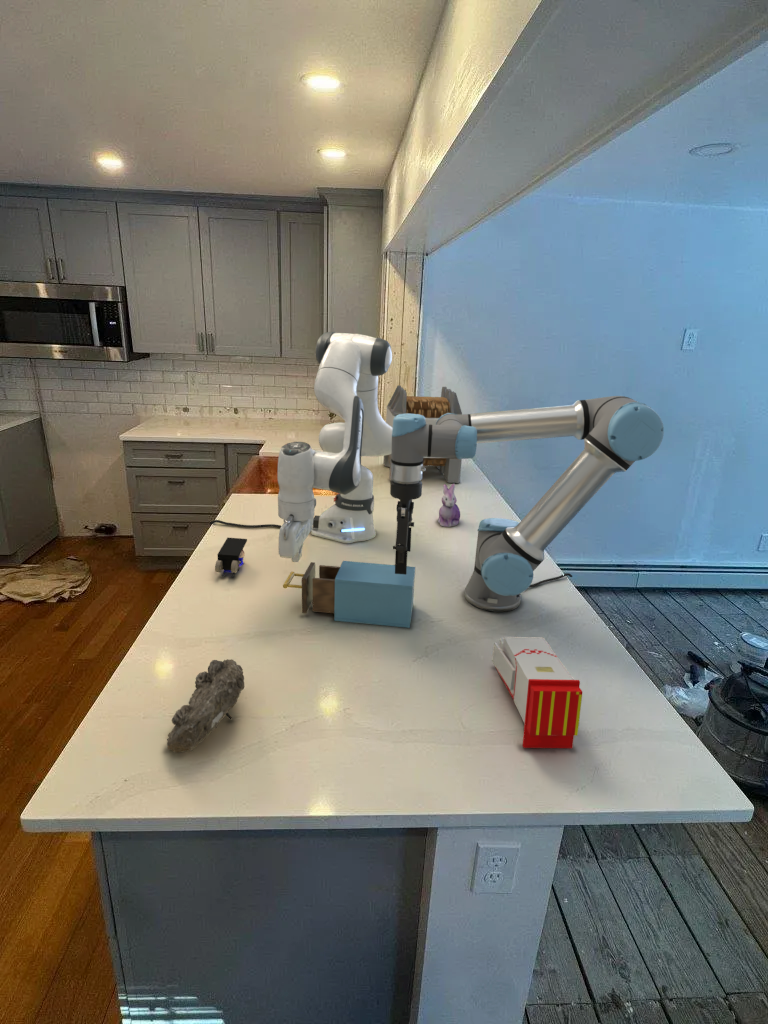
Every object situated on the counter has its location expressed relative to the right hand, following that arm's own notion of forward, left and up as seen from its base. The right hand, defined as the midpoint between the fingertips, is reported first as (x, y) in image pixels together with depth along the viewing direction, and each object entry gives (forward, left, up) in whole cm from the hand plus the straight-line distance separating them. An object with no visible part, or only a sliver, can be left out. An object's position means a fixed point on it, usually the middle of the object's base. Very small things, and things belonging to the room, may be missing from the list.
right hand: (402, 561), depth 141 cm
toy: (-14, +39, -15) cm, 44 cm away
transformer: (-55, -125, -15) cm, 138 cm away
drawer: (+17, -8, -14) cm, 23 cm away
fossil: (+48, +27, -15) cm, 57 cm away
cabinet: (+6, -3, -15) cm, 17 cm away
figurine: (-41, -59, -15) cm, 74 cm away
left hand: (+25, -11, -2) cm, 27 cm away
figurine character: (+39, -37, -15) cm, 56 cm away
